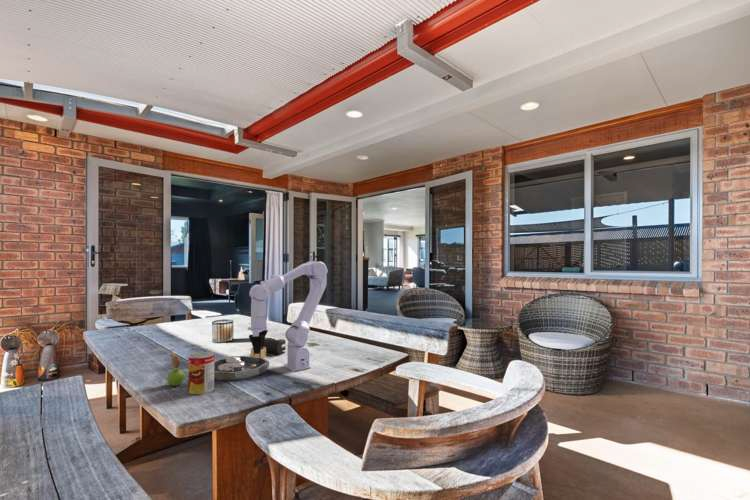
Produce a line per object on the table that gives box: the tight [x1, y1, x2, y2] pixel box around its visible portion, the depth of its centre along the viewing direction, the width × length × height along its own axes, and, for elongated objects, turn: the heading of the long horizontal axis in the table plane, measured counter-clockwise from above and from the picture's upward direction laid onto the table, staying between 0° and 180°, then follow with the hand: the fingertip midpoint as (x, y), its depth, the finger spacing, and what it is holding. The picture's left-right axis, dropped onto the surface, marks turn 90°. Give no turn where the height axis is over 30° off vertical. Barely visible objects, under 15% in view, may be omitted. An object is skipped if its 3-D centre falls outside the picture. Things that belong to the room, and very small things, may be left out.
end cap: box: [263, 337, 287, 356], centre depth 168 cm, size 10×7×7 cm
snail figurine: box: [166, 348, 186, 387], centre depth 127 cm, size 5×6×12 cm
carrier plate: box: [214, 355, 270, 382], centre depth 142 cm, size 22×22×4 cm
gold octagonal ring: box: [250, 347, 267, 358], centre depth 139 cm, size 5×5×3 cm
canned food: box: [187, 350, 215, 395], centre depth 122 cm, size 8×8×12 cm
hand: (258, 351), depth 139 cm, fingers closed on gold octagonal ring, 5 cm apart
